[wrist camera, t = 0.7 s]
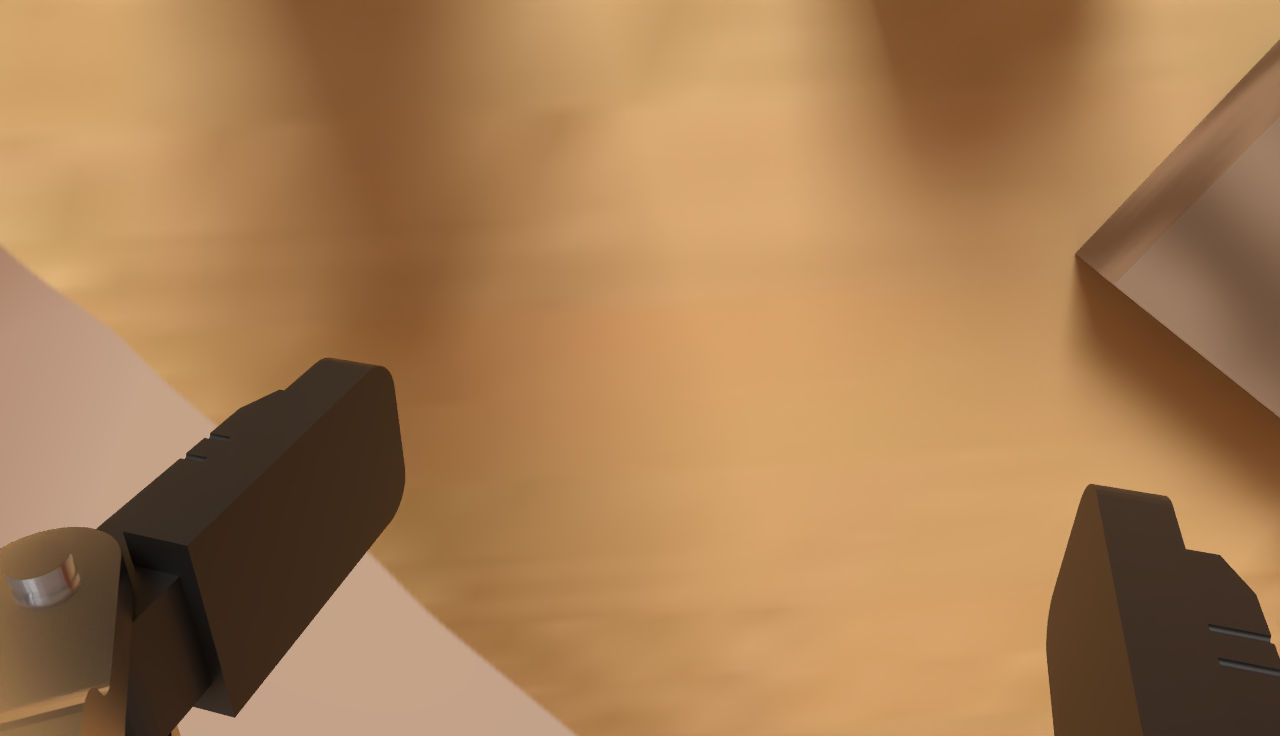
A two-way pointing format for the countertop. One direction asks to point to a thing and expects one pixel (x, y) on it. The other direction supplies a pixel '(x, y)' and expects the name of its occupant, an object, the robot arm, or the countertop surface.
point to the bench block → (1211, 237)
